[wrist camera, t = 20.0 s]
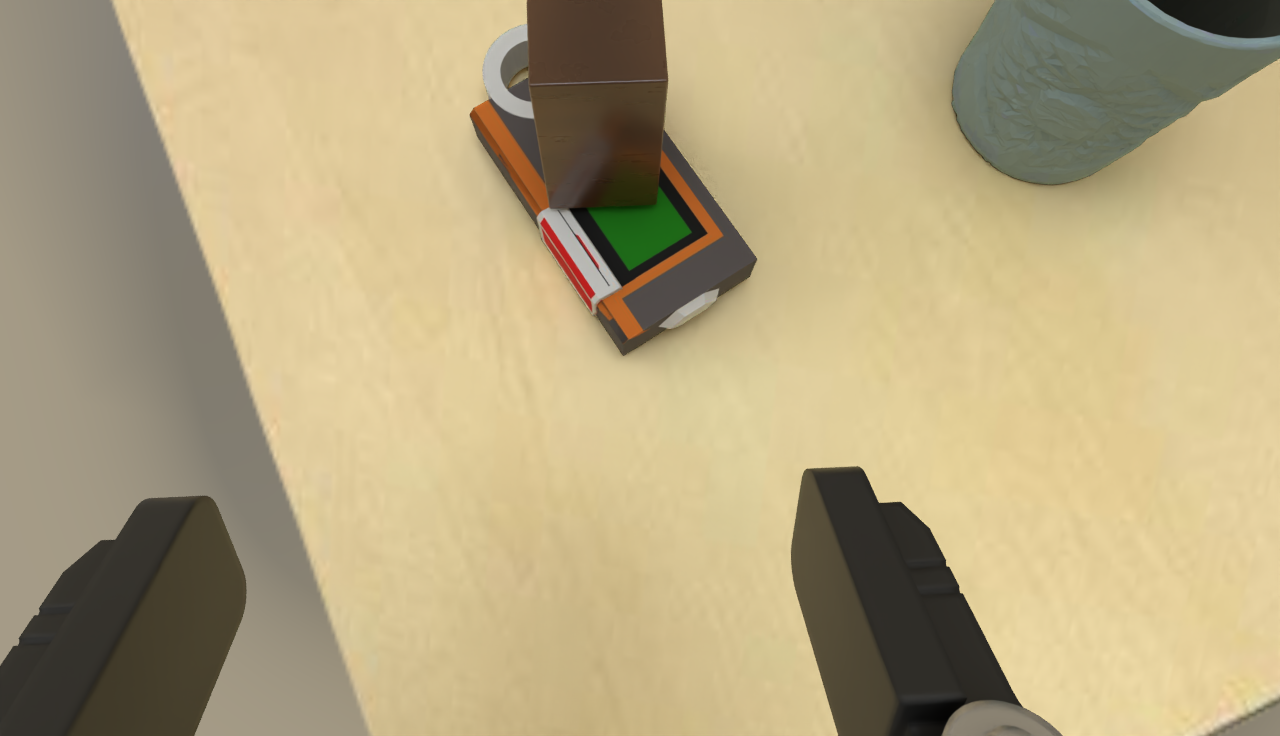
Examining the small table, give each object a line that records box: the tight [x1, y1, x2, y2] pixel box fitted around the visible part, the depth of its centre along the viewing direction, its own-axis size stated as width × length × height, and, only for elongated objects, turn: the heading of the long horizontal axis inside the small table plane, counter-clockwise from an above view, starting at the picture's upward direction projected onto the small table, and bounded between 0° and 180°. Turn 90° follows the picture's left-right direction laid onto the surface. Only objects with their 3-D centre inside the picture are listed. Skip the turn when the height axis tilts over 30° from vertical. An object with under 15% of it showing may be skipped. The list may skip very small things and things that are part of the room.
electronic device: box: [470, 24, 757, 356], centre depth 35 cm, size 7×3×15 cm
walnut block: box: [527, 0, 668, 209], centre depth 30 cm, size 4×4×8 cm
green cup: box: [952, 0, 1280, 184], centre depth 32 cm, size 10×10×12 cm
